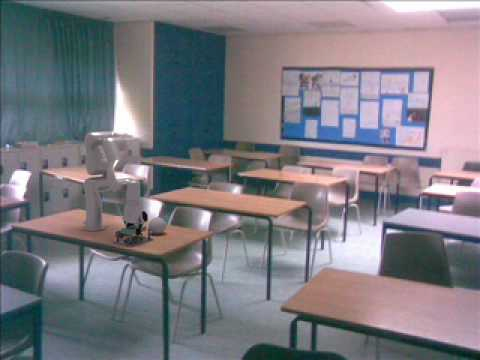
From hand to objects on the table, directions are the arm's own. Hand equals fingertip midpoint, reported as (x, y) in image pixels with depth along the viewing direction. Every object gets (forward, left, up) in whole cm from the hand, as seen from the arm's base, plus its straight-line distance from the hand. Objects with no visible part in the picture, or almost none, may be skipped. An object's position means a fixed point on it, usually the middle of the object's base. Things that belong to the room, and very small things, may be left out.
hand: (133, 233), depth 300 cm
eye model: (-1, +21, -5) cm, 22 cm away
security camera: (-18, +20, -5) cm, 27 cm away
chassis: (0, 0, -5) cm, 5 cm away
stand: (-13, +6, -5) cm, 15 cm away
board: (0, 0, +1) cm, 1 cm away
